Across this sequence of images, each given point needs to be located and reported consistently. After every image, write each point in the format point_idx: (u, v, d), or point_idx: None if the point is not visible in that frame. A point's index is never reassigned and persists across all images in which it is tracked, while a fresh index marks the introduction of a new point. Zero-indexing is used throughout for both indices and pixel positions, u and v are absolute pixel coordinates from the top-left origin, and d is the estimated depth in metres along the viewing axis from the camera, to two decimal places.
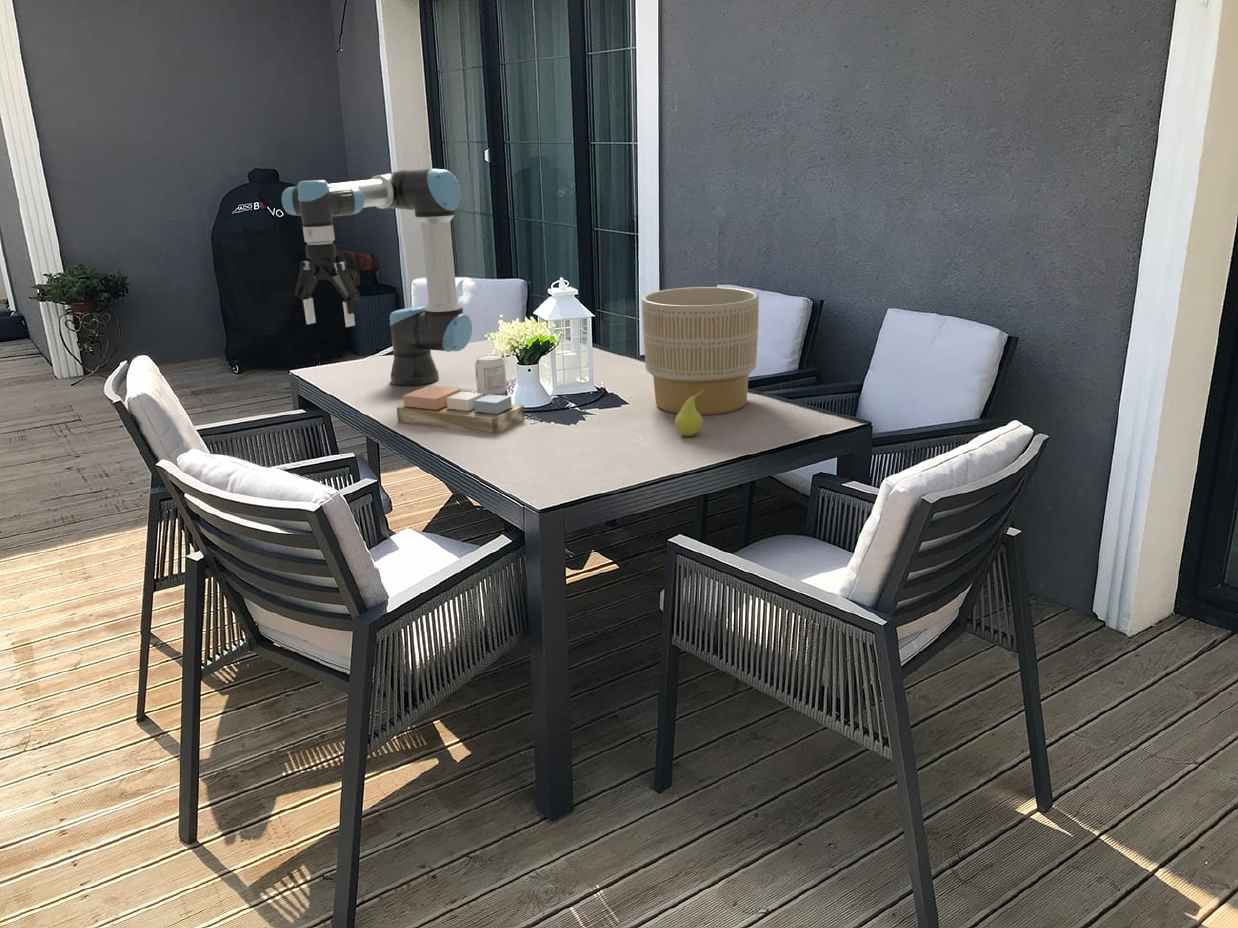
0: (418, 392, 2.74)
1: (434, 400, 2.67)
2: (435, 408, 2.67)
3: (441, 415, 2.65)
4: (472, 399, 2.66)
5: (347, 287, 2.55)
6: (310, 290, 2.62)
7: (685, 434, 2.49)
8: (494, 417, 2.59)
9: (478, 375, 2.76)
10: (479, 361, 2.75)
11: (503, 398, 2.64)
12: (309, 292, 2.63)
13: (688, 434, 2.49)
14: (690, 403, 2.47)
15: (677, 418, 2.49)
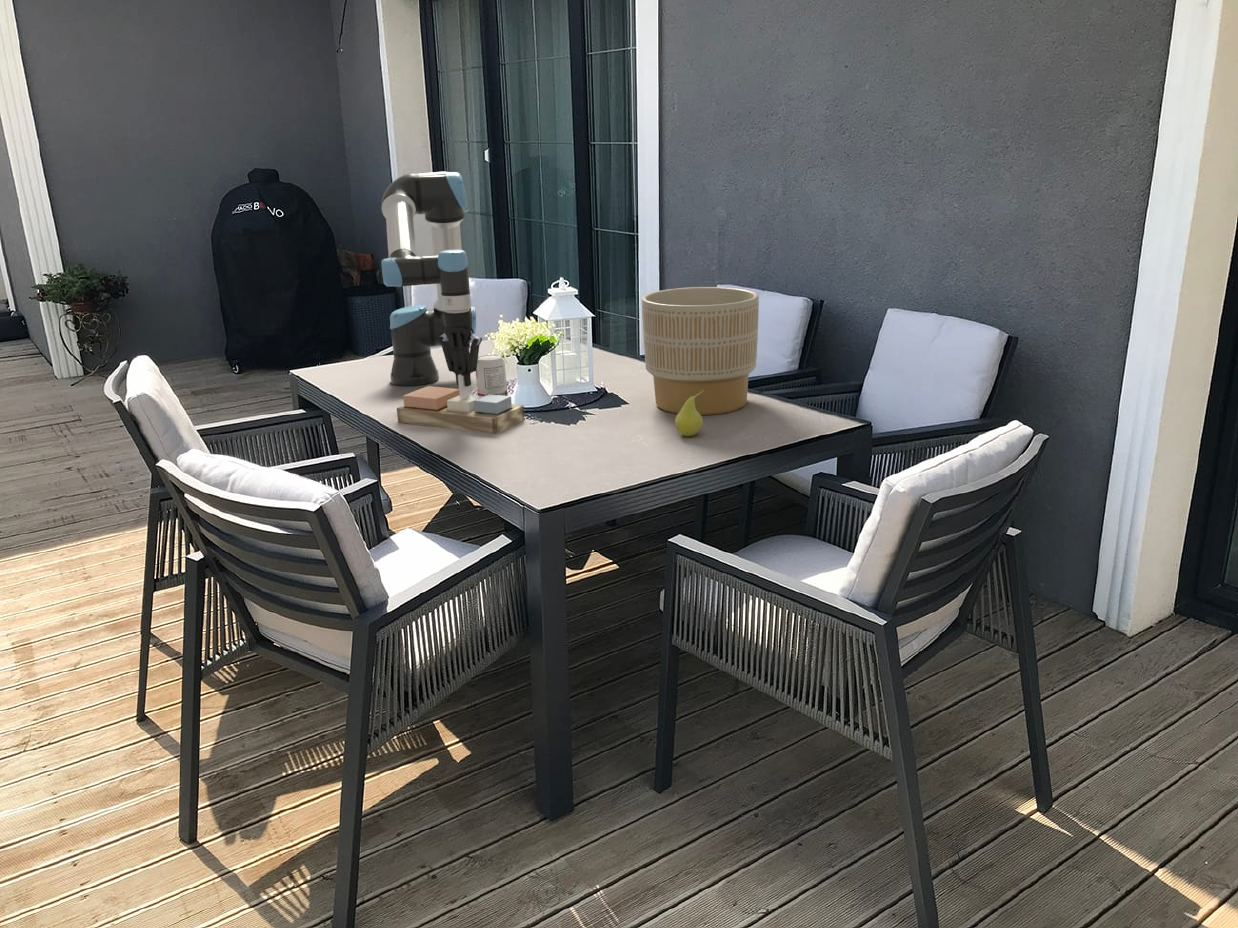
0: (418, 392, 2.74)
1: (434, 400, 2.67)
2: (435, 408, 2.67)
3: (441, 415, 2.65)
4: (472, 402, 2.66)
5: (471, 361, 2.63)
6: (459, 361, 2.66)
7: (685, 434, 2.49)
8: (494, 417, 2.59)
9: (478, 375, 2.76)
10: (479, 361, 2.75)
11: (503, 398, 2.64)
12: (460, 364, 2.66)
13: (688, 434, 2.49)
14: (690, 403, 2.47)
15: (677, 418, 2.49)
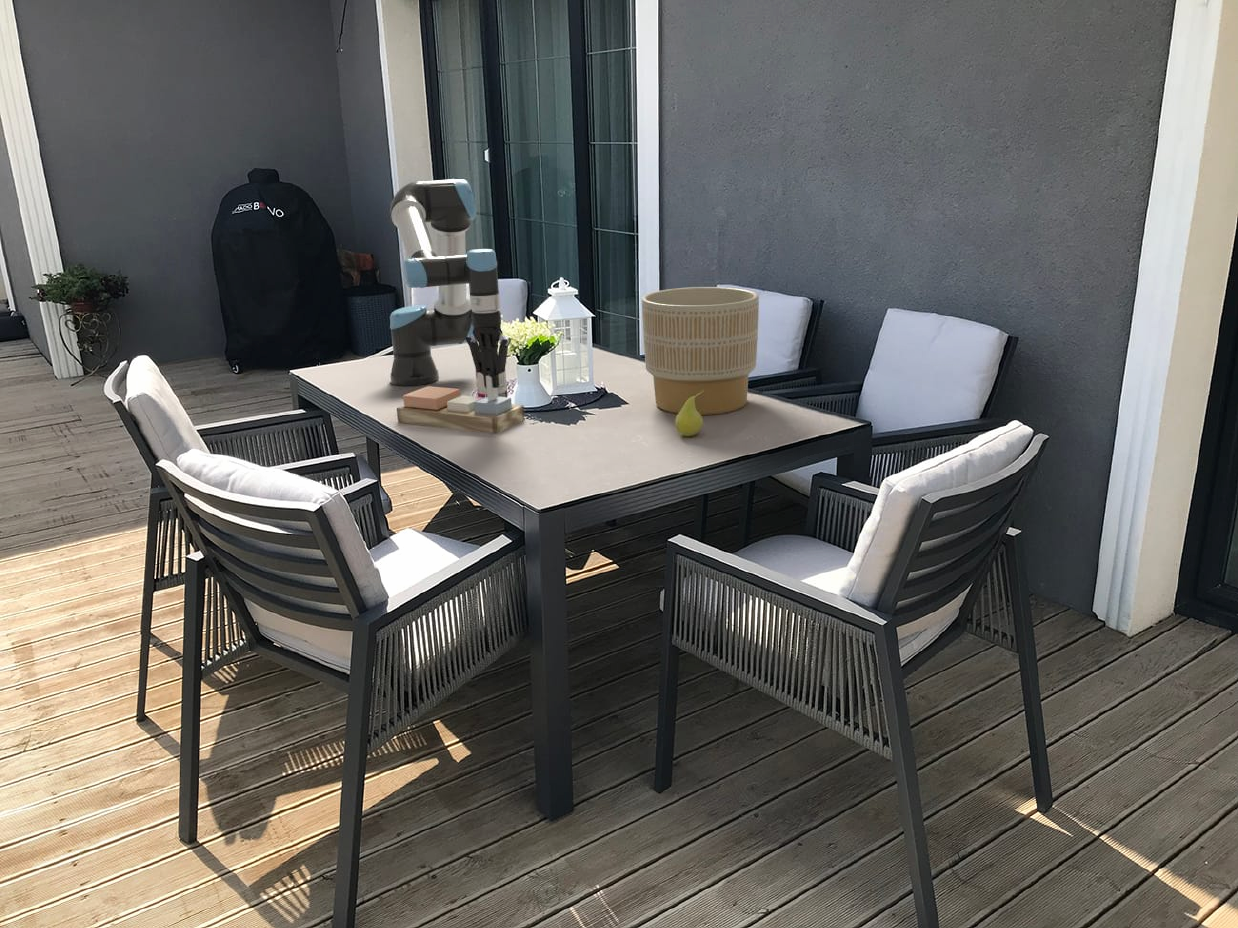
0: (418, 392, 2.74)
1: (434, 400, 2.67)
2: (435, 408, 2.67)
3: (441, 415, 2.65)
4: (472, 403, 2.66)
5: (499, 362, 2.59)
6: (487, 362, 2.62)
7: (685, 434, 2.49)
8: (494, 417, 2.59)
9: (478, 375, 2.76)
10: None
11: (503, 399, 2.64)
12: (488, 365, 2.62)
13: (688, 434, 2.49)
14: (690, 403, 2.47)
15: (677, 418, 2.49)
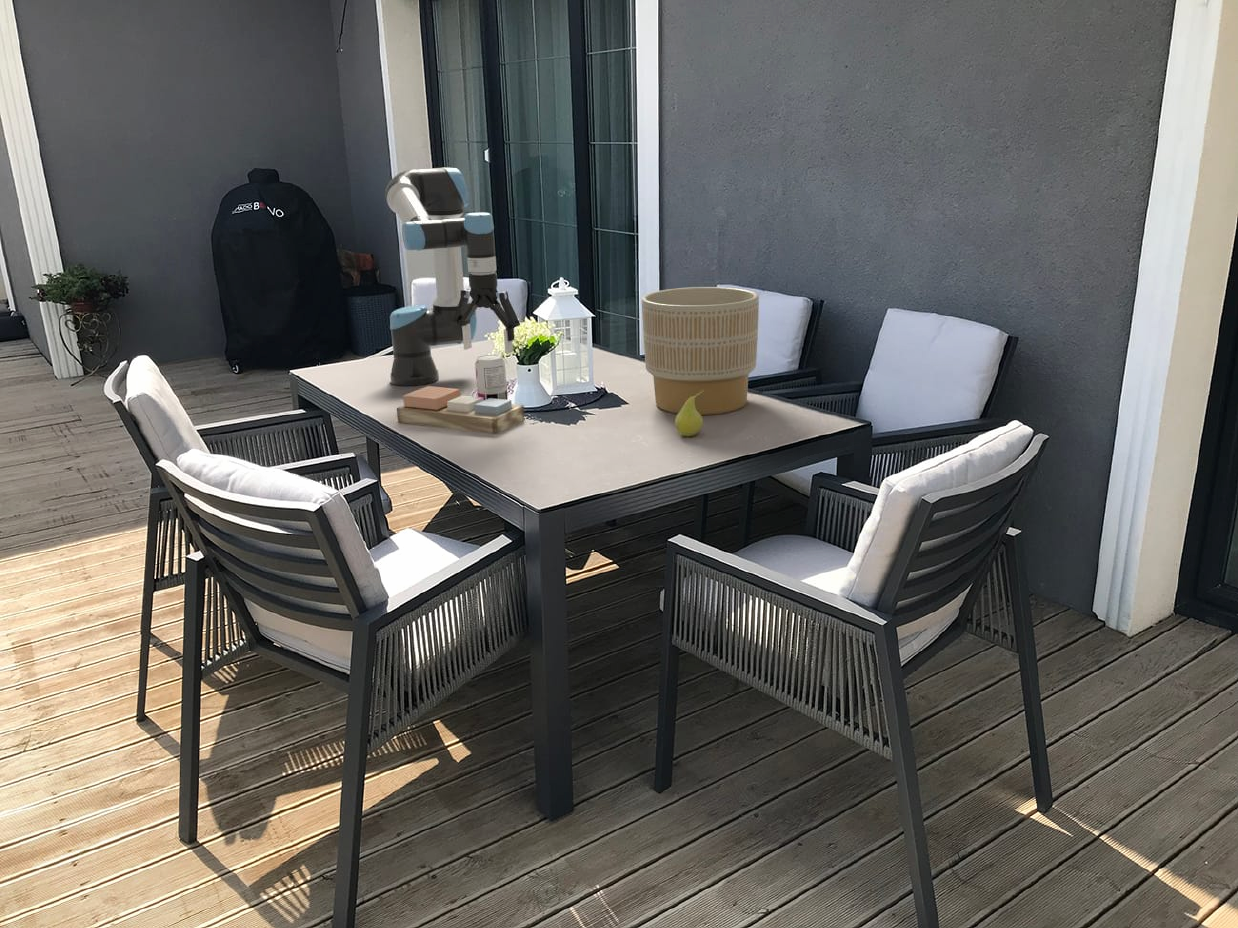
0: (418, 392, 2.74)
1: (434, 400, 2.67)
2: (435, 408, 2.67)
3: (441, 415, 2.65)
4: (472, 403, 2.66)
5: (509, 316, 2.65)
6: (468, 317, 2.72)
7: (685, 434, 2.49)
8: (494, 417, 2.59)
9: (478, 375, 2.76)
10: (479, 361, 2.75)
11: (503, 402, 2.65)
12: (468, 319, 2.73)
13: (688, 434, 2.49)
14: (690, 403, 2.47)
15: (677, 418, 2.49)
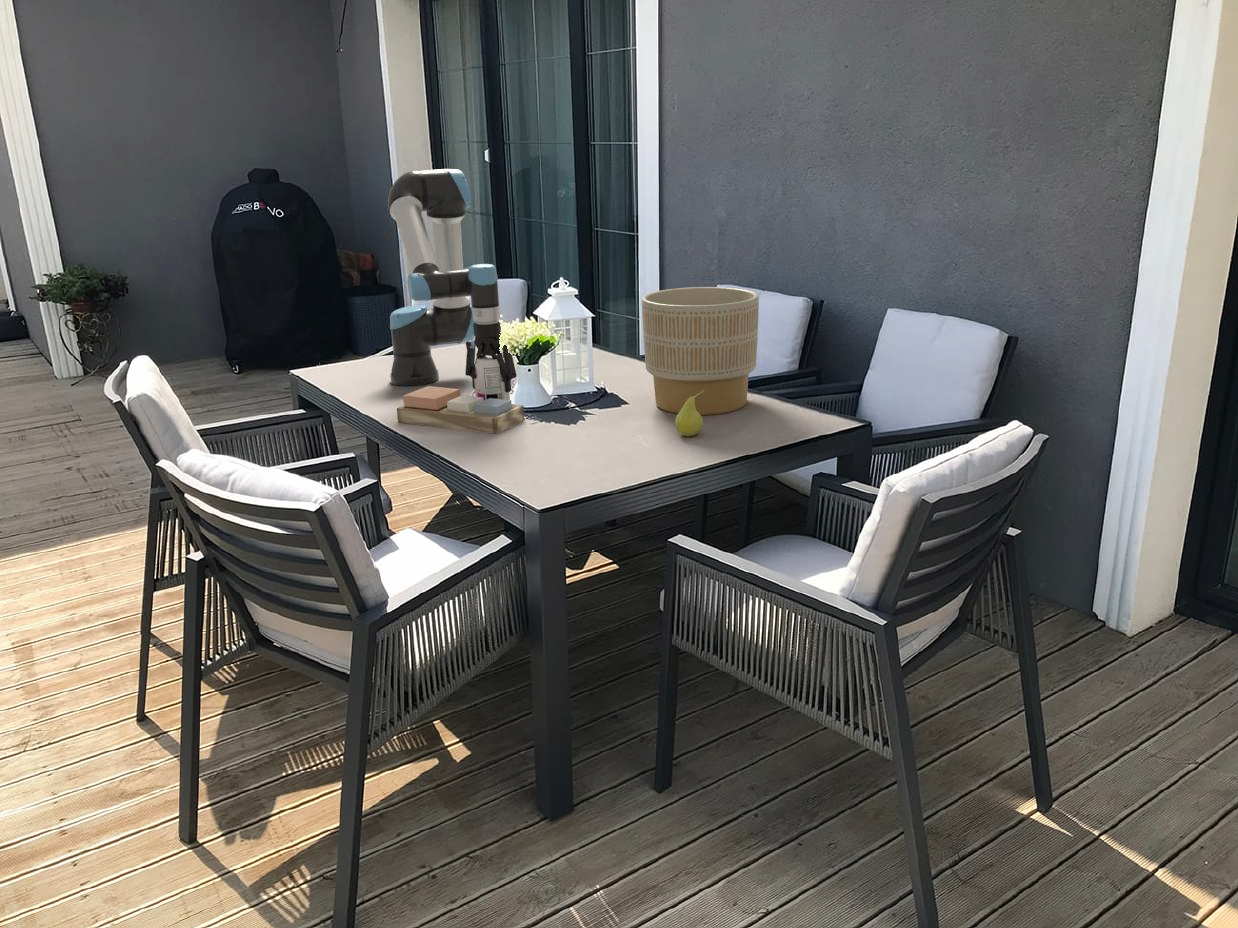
0: (418, 392, 2.74)
1: (434, 400, 2.67)
2: (435, 408, 2.67)
3: (441, 415, 2.65)
4: (472, 403, 2.66)
5: (508, 368, 2.74)
6: None
7: (685, 434, 2.49)
8: (494, 417, 2.59)
9: (478, 375, 2.76)
10: (479, 361, 2.75)
11: (503, 402, 2.65)
12: None
13: (688, 434, 2.49)
14: (690, 403, 2.47)
15: (677, 418, 2.49)
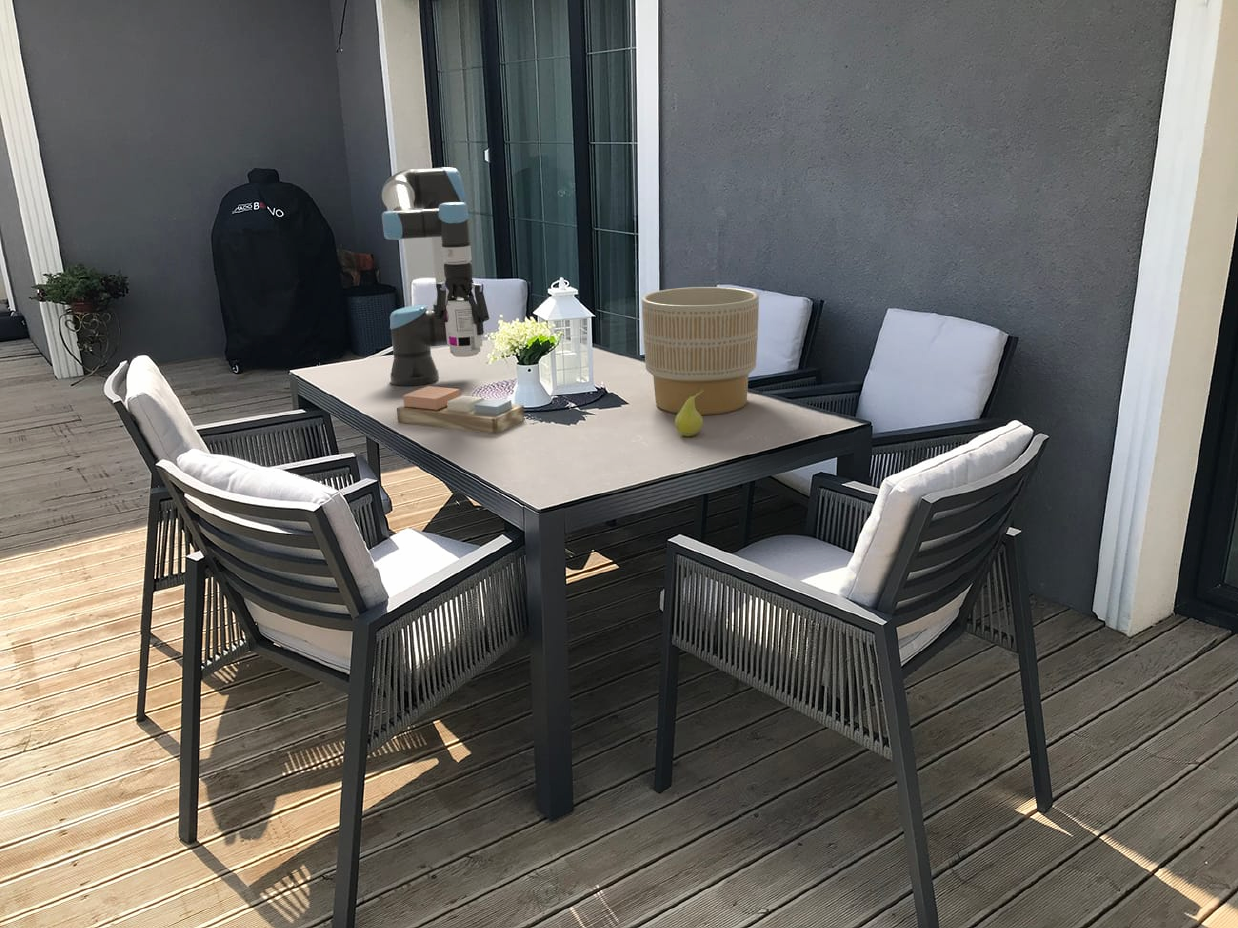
0: (418, 392, 2.74)
1: (434, 400, 2.67)
2: (435, 408, 2.67)
3: (441, 415, 2.65)
4: (472, 403, 2.66)
5: (480, 309, 2.66)
6: None
7: (685, 434, 2.49)
8: (494, 417, 2.59)
9: (449, 318, 2.68)
10: (450, 303, 2.67)
11: (503, 402, 2.65)
12: None
13: (688, 434, 2.49)
14: (689, 403, 2.47)
15: (677, 418, 2.49)
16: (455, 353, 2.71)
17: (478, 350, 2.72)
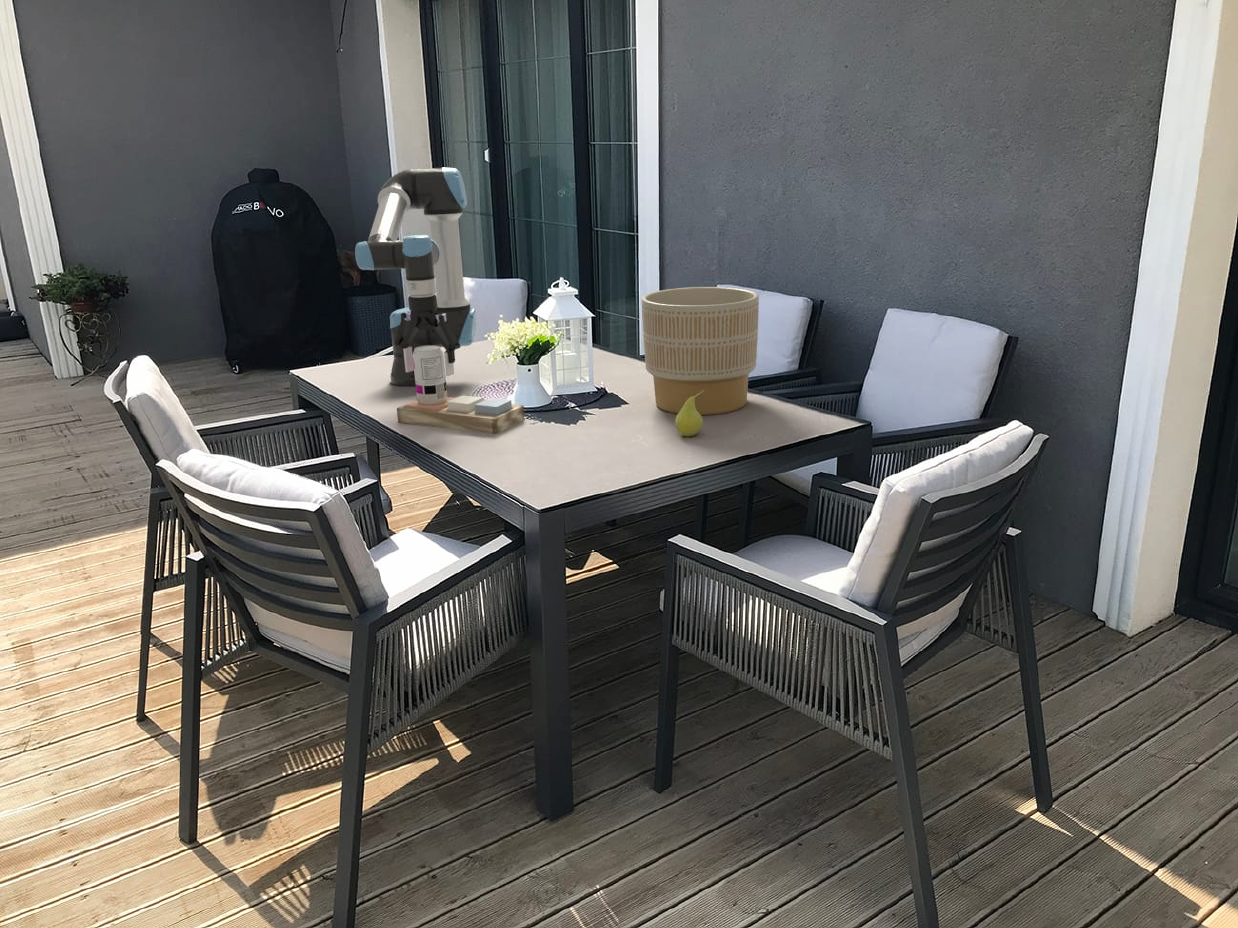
0: None
1: (435, 410, 2.68)
2: None
3: (441, 415, 2.65)
4: (472, 403, 2.66)
5: (449, 338, 2.64)
6: (410, 339, 2.71)
7: (685, 434, 2.49)
8: (494, 417, 2.59)
9: (415, 366, 2.68)
10: (416, 352, 2.67)
11: (503, 402, 2.65)
12: (409, 341, 2.72)
13: (688, 434, 2.49)
14: (690, 403, 2.47)
15: (677, 418, 2.49)
16: (421, 401, 2.71)
17: (444, 398, 2.72)
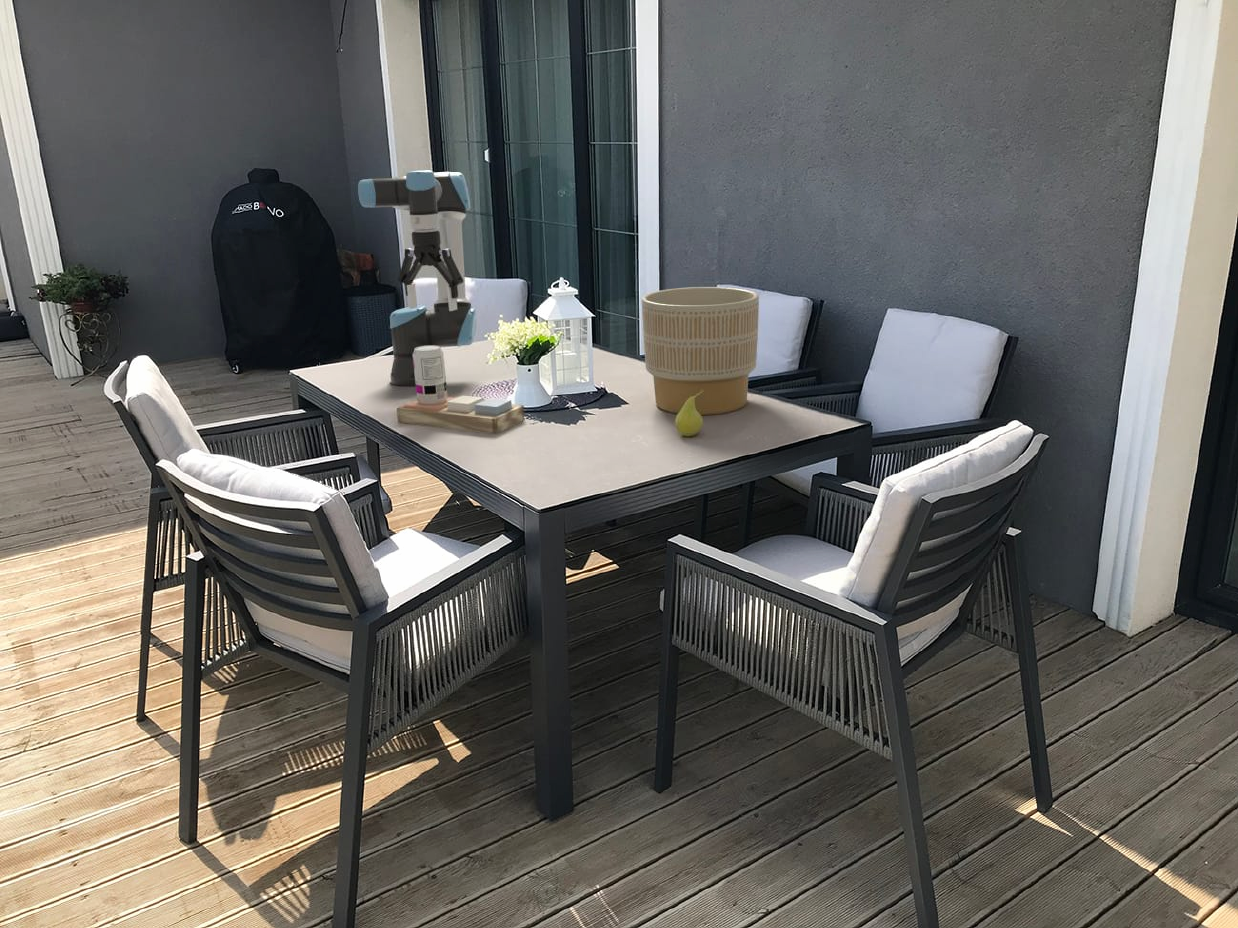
0: None
1: (435, 410, 2.68)
2: None
3: (441, 415, 2.65)
4: (472, 403, 2.66)
5: (452, 273, 2.67)
6: (413, 276, 2.74)
7: (685, 434, 2.49)
8: (494, 417, 2.59)
9: (415, 366, 2.68)
10: (416, 351, 2.67)
11: (503, 402, 2.65)
12: (412, 278, 2.75)
13: (688, 434, 2.49)
14: (690, 403, 2.47)
15: (677, 418, 2.49)
16: (421, 401, 2.71)
17: (444, 398, 2.72)
